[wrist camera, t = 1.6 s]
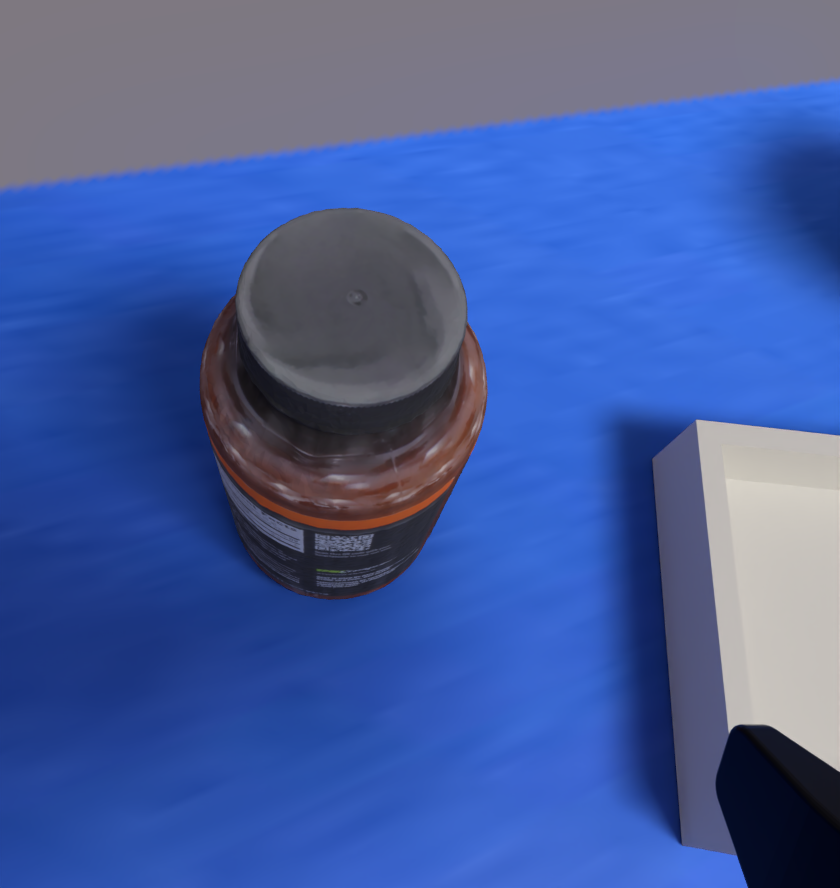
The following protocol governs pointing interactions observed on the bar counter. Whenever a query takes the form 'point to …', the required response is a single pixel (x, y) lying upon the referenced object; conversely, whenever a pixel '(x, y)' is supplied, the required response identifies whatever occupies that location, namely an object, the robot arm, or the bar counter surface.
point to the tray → (747, 599)
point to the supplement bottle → (342, 399)
